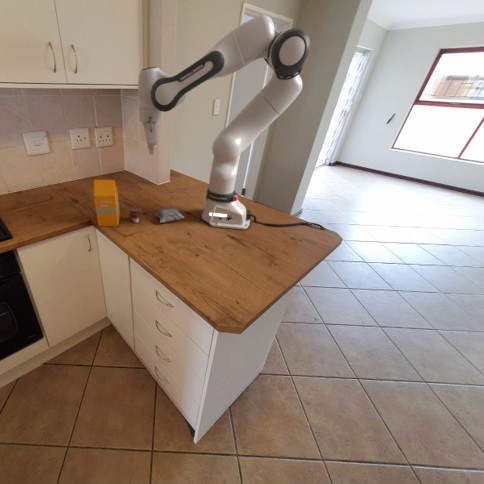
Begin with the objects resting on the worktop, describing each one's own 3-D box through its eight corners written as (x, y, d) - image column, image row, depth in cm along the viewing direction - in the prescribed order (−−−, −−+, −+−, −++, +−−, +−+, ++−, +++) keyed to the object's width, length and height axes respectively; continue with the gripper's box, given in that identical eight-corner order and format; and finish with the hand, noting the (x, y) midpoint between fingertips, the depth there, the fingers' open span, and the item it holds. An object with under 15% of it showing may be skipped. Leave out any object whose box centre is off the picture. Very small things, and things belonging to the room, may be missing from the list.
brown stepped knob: (142, 217, 118) (141, 206, 114) (142, 224, 113) (142, 212, 110) (129, 218, 117) (128, 206, 114) (129, 224, 112) (128, 212, 109)
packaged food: (184, 222, 115) (185, 212, 112) (160, 226, 112) (160, 216, 109) (177, 214, 122) (178, 205, 119) (154, 217, 118) (154, 208, 116)
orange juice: (117, 226, 111) (113, 183, 100) (97, 226, 111) (91, 182, 99) (120, 218, 117) (116, 176, 106) (101, 217, 117) (95, 176, 106)
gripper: (160, 119, 93) (160, 157, 100) (155, 112, 110) (155, 145, 117) (143, 119, 92) (144, 157, 100) (141, 112, 109) (142, 145, 117)
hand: (150, 151), depth 109 cm, fingers open, 8 cm apart
